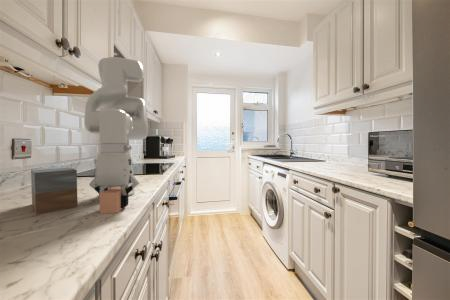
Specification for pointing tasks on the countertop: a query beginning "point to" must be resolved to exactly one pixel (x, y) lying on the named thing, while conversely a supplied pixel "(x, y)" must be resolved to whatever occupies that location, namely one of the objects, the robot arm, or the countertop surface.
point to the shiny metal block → (53, 189)
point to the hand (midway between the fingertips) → (114, 206)
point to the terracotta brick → (110, 200)
